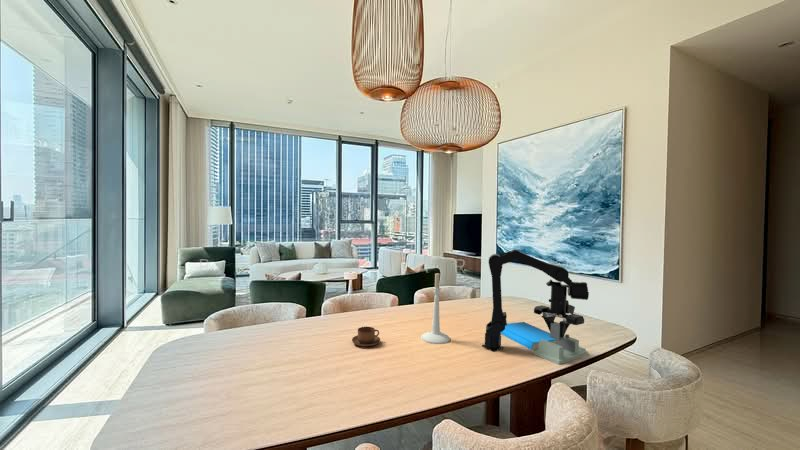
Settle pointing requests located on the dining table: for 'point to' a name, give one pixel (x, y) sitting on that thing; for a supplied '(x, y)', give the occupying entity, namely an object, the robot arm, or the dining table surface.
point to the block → (555, 331)
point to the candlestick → (436, 320)
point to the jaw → (569, 344)
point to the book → (526, 334)
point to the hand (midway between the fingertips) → (557, 335)
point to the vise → (557, 352)
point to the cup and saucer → (366, 337)
